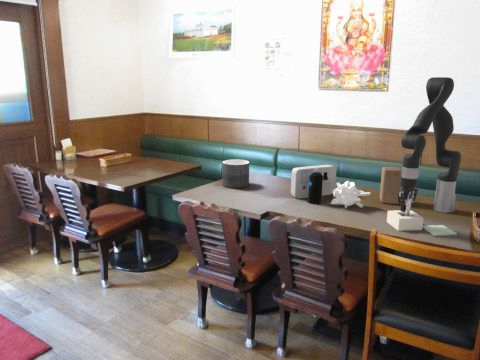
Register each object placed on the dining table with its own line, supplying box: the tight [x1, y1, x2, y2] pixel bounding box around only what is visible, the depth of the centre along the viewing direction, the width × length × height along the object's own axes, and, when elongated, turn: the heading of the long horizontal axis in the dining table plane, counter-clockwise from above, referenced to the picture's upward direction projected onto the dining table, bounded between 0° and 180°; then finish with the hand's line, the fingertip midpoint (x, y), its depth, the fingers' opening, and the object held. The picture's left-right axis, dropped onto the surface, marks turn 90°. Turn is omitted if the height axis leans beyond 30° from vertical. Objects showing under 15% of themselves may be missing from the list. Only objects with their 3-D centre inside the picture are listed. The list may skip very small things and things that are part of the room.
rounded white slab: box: [290, 164, 337, 199], centre depth 244 cm, size 29×8×18 cm, turn 113°
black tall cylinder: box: [307, 168, 323, 205], centre depth 231 cm, size 8×8×20 cm
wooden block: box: [378, 166, 402, 205], centre depth 233 cm, size 10×10×20 cm
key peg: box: [401, 194, 413, 216], centre depth 194 cm, size 4×4×14 cm
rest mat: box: [422, 224, 458, 237], centre depth 190 cm, size 11×11×1 cm
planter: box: [221, 158, 250, 189], centre depth 267 cm, size 18×18×16 cm
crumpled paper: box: [330, 180, 371, 209], centre depth 224 cm, size 20×17×15 cm
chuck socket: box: [386, 209, 424, 232], centre depth 196 cm, size 12×12×6 cm
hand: (405, 210), depth 195 cm, fingers closed on key peg, 4 cm apart
